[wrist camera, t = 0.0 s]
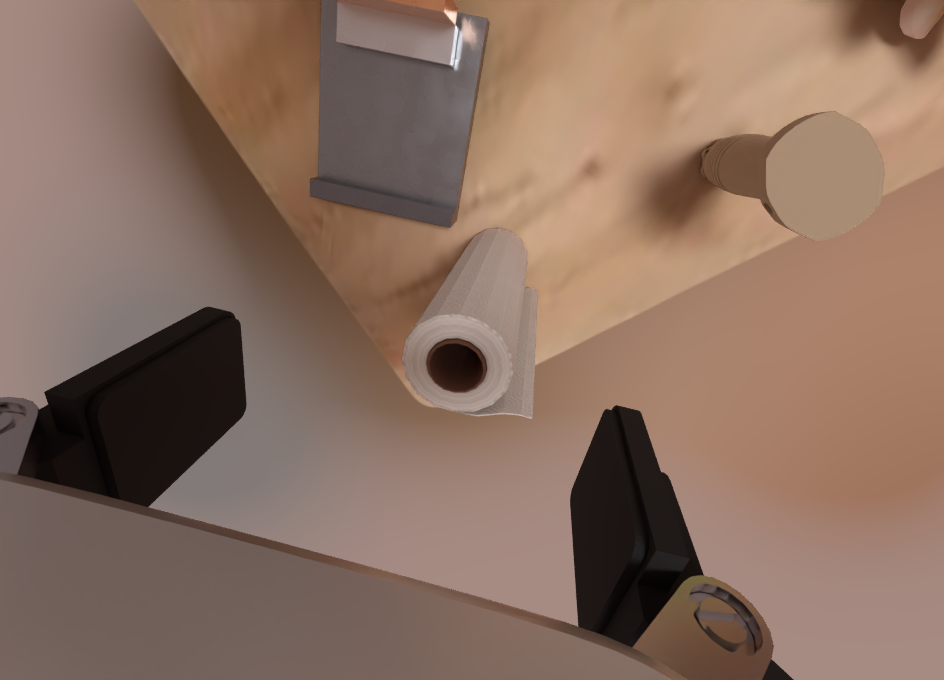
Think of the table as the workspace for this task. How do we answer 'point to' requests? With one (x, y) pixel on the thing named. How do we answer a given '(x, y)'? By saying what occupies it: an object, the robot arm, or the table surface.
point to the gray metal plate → (396, 124)
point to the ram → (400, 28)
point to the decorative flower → (920, 17)
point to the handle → (804, 173)
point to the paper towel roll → (478, 333)
